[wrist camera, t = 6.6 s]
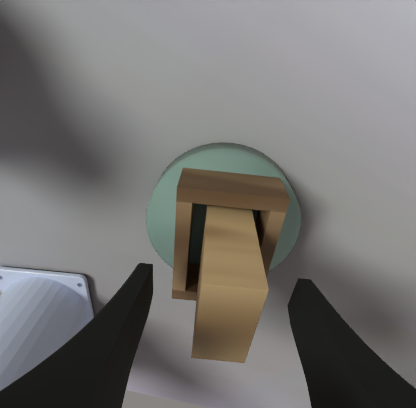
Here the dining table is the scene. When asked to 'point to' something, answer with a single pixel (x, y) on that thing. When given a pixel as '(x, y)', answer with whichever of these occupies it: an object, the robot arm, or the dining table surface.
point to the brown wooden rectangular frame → (229, 197)
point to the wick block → (228, 285)
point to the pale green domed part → (166, 205)
